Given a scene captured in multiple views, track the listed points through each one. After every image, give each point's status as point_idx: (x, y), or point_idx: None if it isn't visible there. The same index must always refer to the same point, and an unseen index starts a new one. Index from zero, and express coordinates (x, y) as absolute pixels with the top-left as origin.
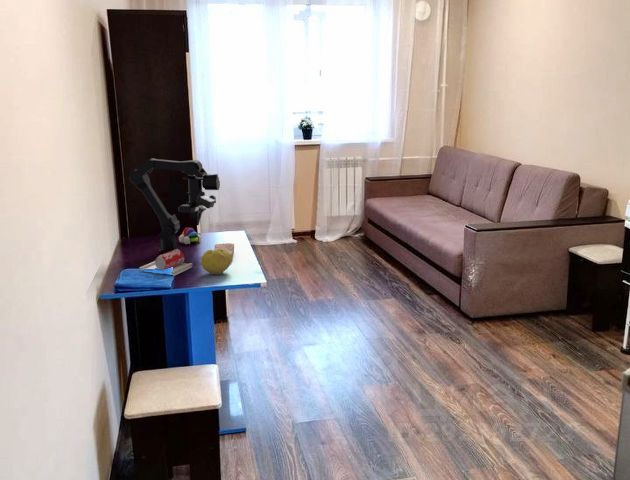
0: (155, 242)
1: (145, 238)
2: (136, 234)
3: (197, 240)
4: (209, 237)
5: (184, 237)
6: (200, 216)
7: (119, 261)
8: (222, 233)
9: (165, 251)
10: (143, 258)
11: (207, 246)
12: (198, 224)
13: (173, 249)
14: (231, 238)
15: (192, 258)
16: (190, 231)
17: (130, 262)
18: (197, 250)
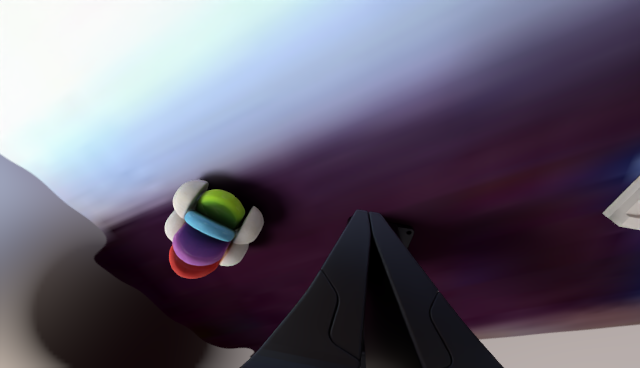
0: (274, 301)
1: (246, 327)
2: (222, 347)
3: (203, 192)
4: (107, 172)
5: (233, 245)
6: (330, 289)
7: (533, 324)
8: (13, 144)
9: (406, 247)
10: (496, 281)
11: (244, 115)
12: (365, 212)
13: (397, 228)
14: (30, 51)
15: (526, 86)
16: (201, 247)
17: (556, 299)
18: (337, 133)
